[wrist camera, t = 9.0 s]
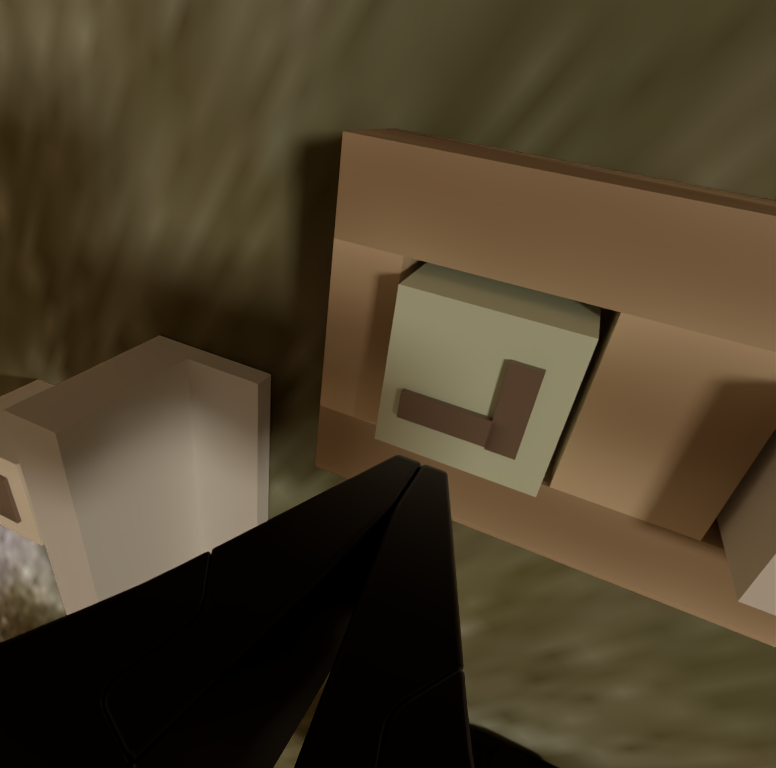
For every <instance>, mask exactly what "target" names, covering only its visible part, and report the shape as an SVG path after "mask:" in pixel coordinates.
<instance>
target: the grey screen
mask: <svg viewBox="0 0 776 768" xmlns="http://www.w3.org/2000/svg"><path fill="white" fill-rule="evenodd" d="M270 400H271V374H269V373H266V372H263V371H260V370H257V369H255V368H252V367H249V366H246V365H243V364H240V363H237V362H235V361H232V360H229V359H226V358H223V357H220V356H217V355H214V354H212V353H209V352H206V351H203V350H200V349H197V348H194V347H192V346H189V345H186V344H183V343H180V342H177V341H174V340H171V339H169V338H166V337H163V336H160V335H159V336H157V337H155V338H153V339H151V340H148V341H146V342H144V343H142V344H140V345H138V346H136V347H134V348H132V349H130V350H128V351H125V352H123V353H121V354H119V355H117V356H115V357H113V358H111V359H109V360H107V361H104V362H102V363H100V364H98V365H96V366H94V367H92V368H90V369H88V370H86V371H83V372H81V373H79V374H77V375H75V376H73V377H71V378H69V379H67V380H65V381H63V382H60V383H58V384H56V385H54V386H52V387H50V388H48V389H46V390H44V391H42V392H39V393H37V394H35V395H33V396H31V397H29V398H27V399H25V400H23V401H21V402H18V403H16V404H14V405H12V406H10V407H8V408H6V409H4V410H3V412H4V415H5V418H6V421H7V425H8V428H9V431H10V434H11V437H12V441H13V444H14V447H15V450H16V453H17V457H18V460H19V463H20V466H21V469H22V473H23V476H24V479H25V482H26V485H27V489H28V492H29V495H30V498H31V501H32V505H33V508H34V511H35V514H36V517H37V521H38V524H39V527H40V530H41V534H42V537H43V540H44V543H45V546H46V550H47V553H48V556H49V559H50V562H51V566H52V569H53V572H54V575H55V578H56V582H57V585H58V588H59V591H60V594H61V598H62V601H63V604H64V607H65V610H66V614H67V615H69V614H71V613H73V612H76V611H78V610H81V609H83V608H86V607H88V606H91V605H93V604H95V603H98V602H100V601H102V600H105V599H107V598H109V597H112V596H114V595H116V594H119V593H121V592H123V591H126V590H128V589H130V588H133V587H135V586H137V585H140V584H142V583H144V582H146V581H148V580H150V579H152V578H154V577H156V576H158V575H160V574H162V573H165V572H167V571H169V570H171V569H173V568H175V567H177V566H179V565H181V564H183V563H185V562H187V561H189V560H191V559H193V558H195V557H197V556H199V555H201V554H203V553H205V552H207V551H208V552H210V553H212V549H213V548H215V547H217V546H219V545H221V544H223V543H225V542H227V541H229V540H231V539H233V538H234V537H236V536H238V535H240V534H242V533H244V532H246V531H248V530H250V529H252V528H254V527H256V526H258V525H260V524H262V523H264V522H266V521H268V492H269V446H270Z"/></svg>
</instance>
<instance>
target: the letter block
mask: <svg viewBox="0 0 776 768" xmlns="http://www.w3.org/2000/svg"><path fill="white" fill-rule="evenodd" d="M52 386H54V385H51V384H49V383H47V382H44V381H42V380H39V379H38V380H36V381H33V382H31V383H29V384H27V385H25V386H22V387H20V388H18V389H16V390H14V391H11V392H9V393H7V394H5V395H3V396H0V525H2V526H4V527H6V528H8V529H10V530H12V531H14V532H16V533H18V534H20V535H22V536H24V537H26V538H27V539H29V540H31V541H33V542H35V543H37V544H39V545H41V546H43V545H44V544H45V543H44V540H43V537H42V534H41V530H40V527H39V524H38V521H37V517H36V514H35V511H34V508H33V505H32V501H31V498H30V495H29V492H28V489H27V485H26V482H25V479H24V476H23V473H22V469H21V466H20V463H19V460H18V457H17V453H16V450H15V447H14V444H13V441H12V437H11V434H10V431H9V428H8V425H7V421H6V418H5V415H4V412H3V410H4V409H6V408H8V407H10V406H12V405H14V404H16V403H18V402H21V401H23V400H25V399H27V398H29V397H31V396H33V395H35V394H37V393H39V392H42V391H44V390H46V389H48V388H50V387H52Z"/></svg>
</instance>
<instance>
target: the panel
mask: <svg viewBox="0 0 776 768" xmlns="http://www.w3.org/2000/svg"><path fill="white" fill-rule="evenodd" d="M427 262H428V263H432V264H436V265H440V266H444V267H447V268H451V269H455V270H459V271H463V272H467V273H471V274H475V275H478V276H482V277H486V278H490V279H494V280H498V281H502V282H505V283H509V284H513V285H517V286H521V287H525V288H529V289H533V290H536V291H540V292H544V293H548V294H552V295H556V296H560V297H564V298H567V299H571V300H575V301H579V302H583V303H587V304H591V305H594V306H598V307H601V315H600V328H599V340H598V342H597V345H596V347H595V350H594V352H593V355H592V357H591V360H590V362H589V365H588V367H587V370H586V372H585V375H584V377H583V380H582V382H581V385H580V387H579V390H578V392H577V395H576V397H575V400H574V403H573V405H572V408H571V410H570V413H569V415H568V418H567V420H566V423H565V425H564V428H563V430H562V433H561V435H560V438H559V440H558V443H557V445H556V448H555V450H554V453H553V455H552V458H551V461H550V463H549V466H548V468H547V471H546V473H545V476H544V478H543V481H542V483H541V486H540V488H539V491H538V493H537V496H536V497H533V496H531V495H528V494H525V493H522V492H520V491H517V490H514V489H512V488H509V487H506V486H503V485H501V484H498V483H495V482H492V481H490V480H487V479H484V478H481V477H479V476H476V475H473V474H470V473H468V472H465V471H462V470H459V469H457V468H454V467H451V466H448V465H446V464H443V463H440V462H437V461H435V460H432V459H429V458H426V457H424V456H421V455H418V454H415V453H413V452H410V451H407V450H405V449H402V448H399V447H396V446H394V445H391V444H388V443H385V442H383V441H380V440H377V439H374V438H375V432H376V425H377V419H378V413H379V406H380V400H381V393H382V387H383V381H384V374H385V368H386V362H387V355H388V349H389V343H390V336H391V330H392V324H393V317H394V311H395V305H396V298H397V292H398V285H399V284H400V283H401V282H402V281H403V280H405V279H406V278H407V277H409V276H410V275H411V274H413V273H414V272H415V271H416V270H418V269H419V268H420V267H422V266H423V265H424V264H426V263H427ZM775 429H776V200H770V199H765V198H760V197H754V196H749V195H744V194H739V193H733V192H728V191H723V190H717V189H712V188H707V187H702V186H696V185H691V184H686V183H680V182H675V181H670V180H665V179H659V178H654V177H649V176H643V175H638V174H633V173H628V172H622V171H617V170H612V169H606V168H601V167H596V166H591V165H585V164H580V163H575V162H569V161H564V160H559V159H554V158H548V157H543V156H538V155H532V154H527V153H522V152H517V151H511V150H506V149H501V148H495V147H490V146H485V145H480V144H474V143H469V142H464V141H458V140H453V139H448V138H443V137H437V136H432V135H427V134H421V133H416V132H411V131H405V130H400V129H377V130H357V131H343V136H342V148H341V160H340V172H339V184H338V196H337V208H336V220H335V232H334V244H333V256H332V268H331V280H330V292H329V304H328V316H327V328H326V340H325V352H324V364H323V376H322V388H321V400H320V412H319V424H318V436H317V448H316V460H315V466H316V467H318V468H321V469H323V470H326V471H328V472H331V473H333V474H336V475H338V476H341V477H343V478H346V479H350V478H352V477H354V476H356V475H358V474H360V473H362V472H364V471H366V470H367V469H369V468H371V467H373V466H375V465H377V464H379V463H381V462H383V461H385V460H387V459H389V458H391V457H393V456H395V455H402V456H405V457H408V458H411V459H413V460H416V461H418V462H420V464H421V466H423V465H429V466H432V467H435V468H438V469H440V470H443V471H445V472H446V473H447V474H448V480H449V493H450V505H451V518H452V520H453V521H455V522H458V523H461V524H463V525H466V526H468V527H471V528H473V529H476V530H478V531H481V532H483V533H486V534H488V535H491V536H494V537H496V538H499V539H501V540H504V541H506V542H509V543H511V544H514V545H516V546H519V547H522V548H524V549H527V550H529V551H532V552H534V553H537V554H539V555H542V556H544V557H547V558H550V559H552V560H555V561H557V562H560V563H562V564H565V565H567V566H570V567H572V568H575V569H578V570H580V571H583V572H585V573H588V574H590V575H593V576H595V577H598V578H600V579H603V580H606V581H608V582H611V583H613V584H616V585H618V586H621V587H623V588H626V589H628V590H631V591H634V592H636V593H639V594H641V595H644V596H646V597H649V598H651V599H654V600H656V601H659V602H661V603H664V604H667V605H669V606H672V607H674V608H677V609H679V610H682V611H684V612H687V613H689V614H692V615H695V616H697V617H700V618H702V619H705V620H707V621H710V622H712V623H715V624H717V625H720V626H723V627H725V628H728V629H730V630H733V631H735V632H738V633H740V634H743V635H745V636H748V637H751V638H753V639H756V640H758V641H761V642H763V643H766V644H768V645H771V646H773V647H776V616H775V615H773V614H770V613H767V612H765V611H762V610H759V609H757V608H754V607H751V606H749V605H746V604H743V603H741V602H738V600H737V596H736V592H735V588H734V584H733V580H732V576H731V572H730V568H729V565H728V561H727V557H726V553H725V549H724V545H723V541H722V537H721V533H720V529H719V525H718V521H717V516H718V514H719V513H720V511H721V510H722V508H723V507H724V505H725V504H726V502H727V501H728V499H729V498H730V496H731V495H732V493H733V492H734V490H735V489H736V487H737V486H738V484H739V483H740V481H741V480H742V478H743V477H744V475H745V474H746V472H747V471H748V469H749V468H750V466H751V465H752V463H753V462H754V460H755V459H756V457H757V456H758V454H759V453H760V451H761V450H762V448H763V447H764V445H765V444H766V442H767V441H768V439H769V438H770V436H771V435H772V433H773V432H774V430H775Z"/></svg>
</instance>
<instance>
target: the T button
mask: <svg viewBox="0 0 776 768" xmlns="http://www.w3.org/2000/svg"><path fill="white" fill-rule="evenodd" d="M717 521H718V525H719V529H720V533H721V537H722V541H723V545H724V549H725V553H726V557H727V561H728V565H729V568H730V572H731V576H732V580H733V584H734V588H735V592H736V596H737V600H738V602H741V603H743V604H746V605H749V606H751V607H754V608H757V609H759V610H762V611H765V612H767V613H770V614H773V615H775V616H776V429H775V430H774V432H773V433H772V435H771V436H770V438H769V439H768V441H767V442H766V444H765V445H764V447H763V448H762V450H761V451H760V453H759V454H758V456H757V457H756V459H755V460H754V462H753V463H752V465H751V466H750V468H749V469H748V471H747V472H746V474H745V475H744V477H743V478H742V480H741V481H740V483H739V484H738V486H737V487H736V489H735V490H734V492H733V493H732V495H731V496H730V498H729V499H728V501H727V502H726V504H725V505H724V507H723V508H722V510H721V511H720V513H719V514H718V516H717Z"/></svg>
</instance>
